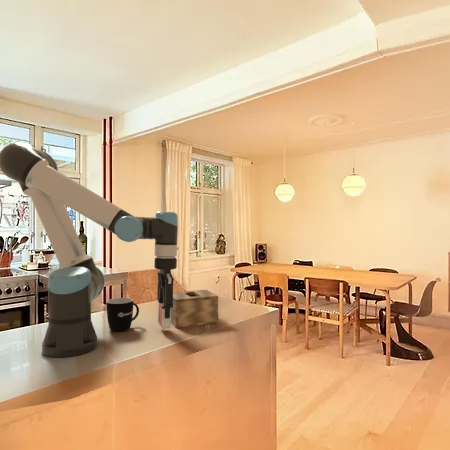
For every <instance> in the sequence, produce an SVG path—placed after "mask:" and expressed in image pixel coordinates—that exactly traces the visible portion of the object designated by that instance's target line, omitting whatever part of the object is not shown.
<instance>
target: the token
mask: <svg viewBox="0 0 450 450" xmlns="http://www.w3.org/2000/svg"><path fill="white" fill-rule="evenodd" d="M161 307H163V306H160V307H159V323H158V324H159V325H160V328H162V309H161ZM163 329H166V328H162V330H163Z"/></svg>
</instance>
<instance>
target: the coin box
mask: <svg viewBox="0 0 450 450" xmlns="http://www.w3.org/2000/svg"><path fill="white" fill-rule="evenodd" d="M211 323H213V324H218V323H219V295H217V294H216V293H213V292H212V291H209V290H208V289H198V290H197V289H196V290H188V291H173V307H172V308H171V324H172V325H173V326H174V328H176V329H177V328H178V329H179V328H187V327H195V326H204V325H203V324H205V325H212V324H211Z"/></svg>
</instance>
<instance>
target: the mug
mask: <svg viewBox="0 0 450 450" xmlns="http://www.w3.org/2000/svg"><path fill="white" fill-rule="evenodd" d="M105 304H106V316H107V317H106V318H107V323H108V327H109V328H108V329H109V330H110V331H111V332H112V333H124V332H127V331H129V330H130V328H131V326H132V322H133V321H135V320H136V319H137V317H138V316H139V315H140V314H139V313H140V308H139V306H138V304H137V303H136V302H134V299H133V298H130V297H116V298H110V299H108V300H106V303H105ZM134 307H135V310H136V312H135V315H134V314H133V313H134ZM133 315H134V316H133Z"/></svg>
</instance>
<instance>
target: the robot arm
mask: <svg viewBox="0 0 450 450" xmlns="http://www.w3.org/2000/svg"><path fill="white" fill-rule="evenodd" d="M0 171H1V172H2V174H4V175H5V176H6V177H7V178H9V179H11V180H14V181H15V182H18V183H19V184H18V185H19V186H20V188H21V191H22V193H23V195H25V196H27V197H30V198H31V201H32V203H33V205H34V207H35V211H36V213H37V214H38V218H39V220H40V222H41V224H42V226H43V229H44V232H45V233H46V236H47V239H48V240H49V243H50V245H51V247H52V250H53V252H54V254H55V257H56V259H57V262H58V264H59V265H58V268H57V269H55V270H53V271H51V272H50V274H49V275H48V277H47V278H48V279H47V280H48V281H47V286H46V287H47V300H48V305H47V307H48V309H47V312H48V313H47V314H48V326H47V328H46V331H45V335H44V337H43V340H42V343H41V353H42V354H43V355H44V356H46V357H51V358H70V357H74V356H79V355H84V354H86V353H89V352H91V351H93V350H94V349H96V348H97V347H98V335H97V333H96V330H95V328H94V327H95V326H94V324H93V322H92V301H93V300H95V299H97V298H98V297H99V296H100V295H101V294H102V291H103V290H104V288H105V284H106V279H105V275H104V273H103V272H102V270H101V269H100V268H99V267H97V266H96V263H95V261H94V258H93V257H92V256H90V255H88V254H86V252H85V250H84V247H83V244H82V242H81V241H80V238H79V236H78V233H77V231H76V228H75V226H74V223H73V221H72V219H71V217H70V214H69V212H68V209H67V208H66V207H68V208H70V209H71V210H73V211H75V212H76V213H78V214H80V215H82V216H83V217H86V218H87V219H89V220H91V221H92V222H93V223H95V224H98V225H99V226H101V227H103V229H106V230H108V231H110V232H111V233H112V234H114V235H115V236H116V237H117V239H119V240H121V241H122V242H125V243H133V242H136V241H137V240H154V257H155V258H154V267H153V268H155V269H156V270H159V272H157V289H156V291H157V293H156V295H157V296H156V301H157V303H158V307H157V323H158V324H159V307H160V306H163V307H161V309H162V327H161V329H163V328H165V329H171V324H172V323H171V308H172V307H173V292H174V280H175V278H174V277H173V274H172V271H171V270H176V269H177V267H178V259H177V255H178V250H179V248H180V247H178V233H179V232H178V231H179V229H178V228H179V224H178V223H179V222H178V221H179V220H178V217H179V216H178V214H177V212H173V211H156V212H155V215H154V216H151V217H148V216H147V217H145V216H134V215H132V214H131V213H129V212H127V211H126V210H124V209H122V208H120V207H119V206H118V205H115V204H114V203H112V202H111V201H109V200H107V199H106V198H104V197H102V196H100V195H99V194H97V193H95V192H94V191H92V190H91V189H89V188H87V187H86V186H84V185H82V184H81V183H79V182H77V181H76V180H74V179H72V178H71V177H69V176H67V175H66V174H65V173H64V174H63V173H62V172H60V171H59V166H58V164H57V162H56V160H55V159H54V158H53V157H52V155H50V154H49V153H48V152H45V151H44V150H41V149H38V148H36V147H34V146H31V145H30V144H28V143H24V142H13V143H9V144H7V145H6V146H4V147H3V148H2V149H1V151H0Z"/></svg>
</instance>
